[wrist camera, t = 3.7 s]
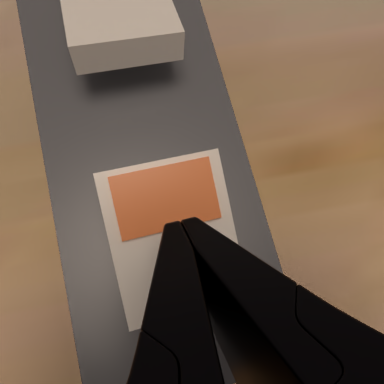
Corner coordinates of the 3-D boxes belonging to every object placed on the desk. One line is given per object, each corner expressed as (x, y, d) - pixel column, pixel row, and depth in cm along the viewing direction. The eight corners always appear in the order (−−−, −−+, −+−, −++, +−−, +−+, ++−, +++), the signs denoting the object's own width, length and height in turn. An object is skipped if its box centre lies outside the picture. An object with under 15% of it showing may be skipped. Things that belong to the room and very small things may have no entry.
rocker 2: (237, 285, 12) (250, 297, 10) (129, 316, 11) (129, 333, 10) (209, 152, 12) (219, 147, 10) (97, 175, 11) (92, 173, 10)
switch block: (245, 322, 20) (308, 357, 12) (115, 362, 18) (90, 432, 10) (169, 42, 23) (179, -68, 16) (56, 58, 22) (6, -55, 14)
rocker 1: (183, 59, 12) (185, 27, 11) (77, 75, 12) (66, 43, 10) (154, -17, 14) (153, -51, 13) (62, -9, 14) (52, -43, 12)
